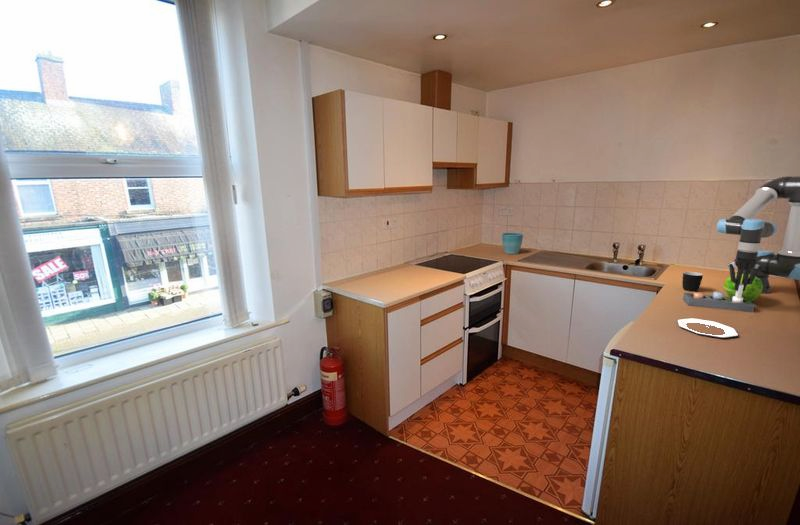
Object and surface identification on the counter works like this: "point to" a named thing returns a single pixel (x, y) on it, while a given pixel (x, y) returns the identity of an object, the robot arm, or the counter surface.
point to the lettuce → (750, 291)
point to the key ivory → (737, 299)
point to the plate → (728, 330)
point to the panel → (718, 303)
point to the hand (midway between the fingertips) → (738, 296)
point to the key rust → (698, 295)
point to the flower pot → (512, 242)
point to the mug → (691, 281)
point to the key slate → (718, 295)
